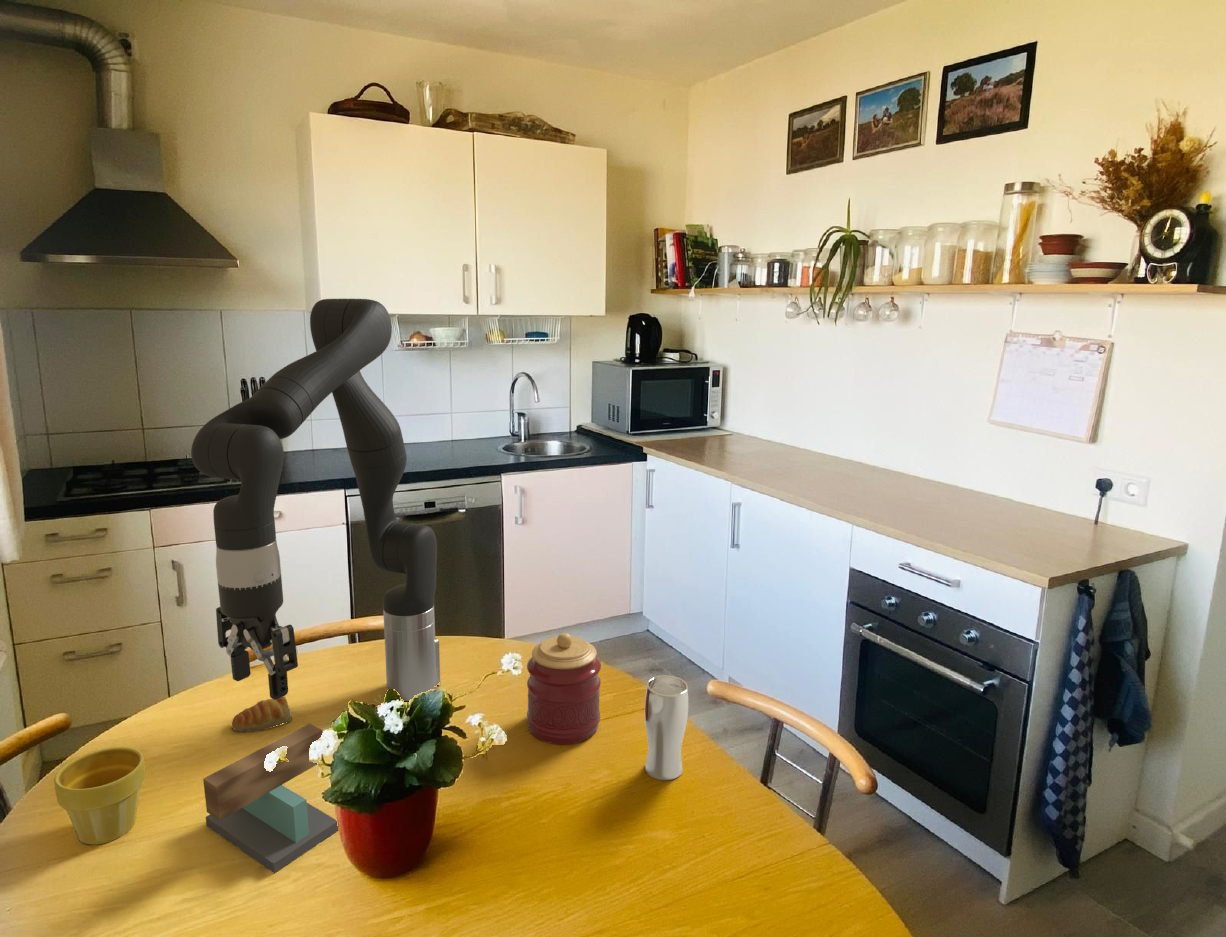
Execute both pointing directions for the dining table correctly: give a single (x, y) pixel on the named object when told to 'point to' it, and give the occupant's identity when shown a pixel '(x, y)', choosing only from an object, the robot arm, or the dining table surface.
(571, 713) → the canister
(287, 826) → the ridge stand
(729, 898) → the dining table surface
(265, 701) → the pastry
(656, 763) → the beer glass
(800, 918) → the dining table surface
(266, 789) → the walnut beam
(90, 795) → the plant pot
